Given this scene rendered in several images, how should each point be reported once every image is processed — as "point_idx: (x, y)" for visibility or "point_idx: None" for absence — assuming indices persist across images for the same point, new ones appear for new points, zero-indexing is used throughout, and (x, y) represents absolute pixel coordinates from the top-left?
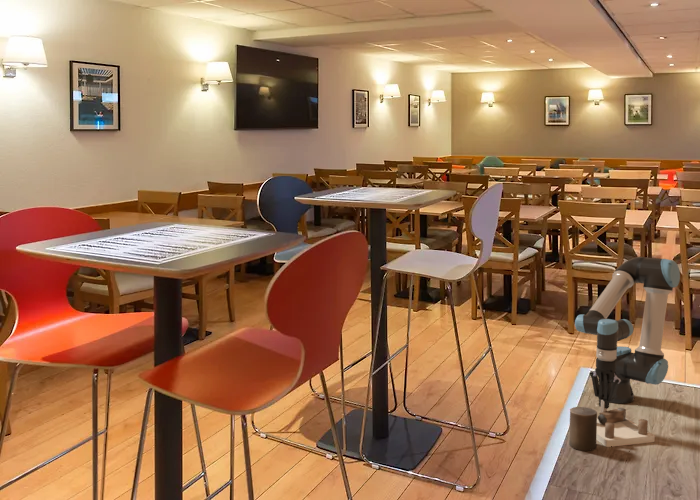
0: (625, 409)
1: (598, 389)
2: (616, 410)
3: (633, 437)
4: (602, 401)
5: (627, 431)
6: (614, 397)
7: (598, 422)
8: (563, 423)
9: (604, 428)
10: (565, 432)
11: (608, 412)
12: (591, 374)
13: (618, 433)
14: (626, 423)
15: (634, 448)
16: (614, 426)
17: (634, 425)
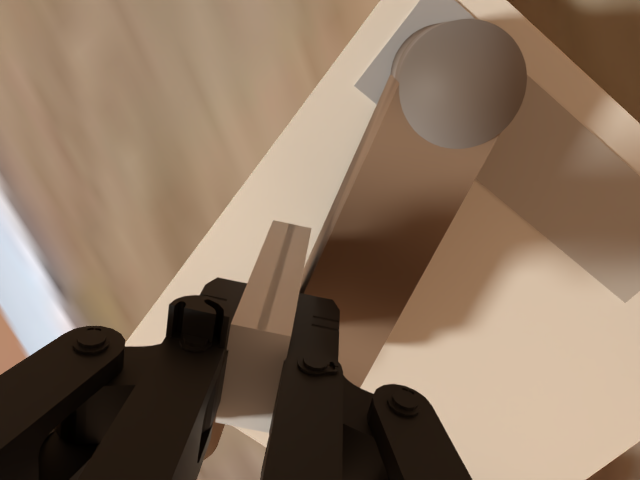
0: (519, 63)
1: (36, 471)
2: (409, 175)
3: (637, 436)
4: (248, 416)
5: (567, 347)
6: (441, 437)
7: None
8: (23, 327)
9: (368, 391)
10: None
11: (347, 306)
12: None
13: (503, 422)
14: (519, 163)
15: (629, 460)
16: (430, 304)
17: (610, 167)
